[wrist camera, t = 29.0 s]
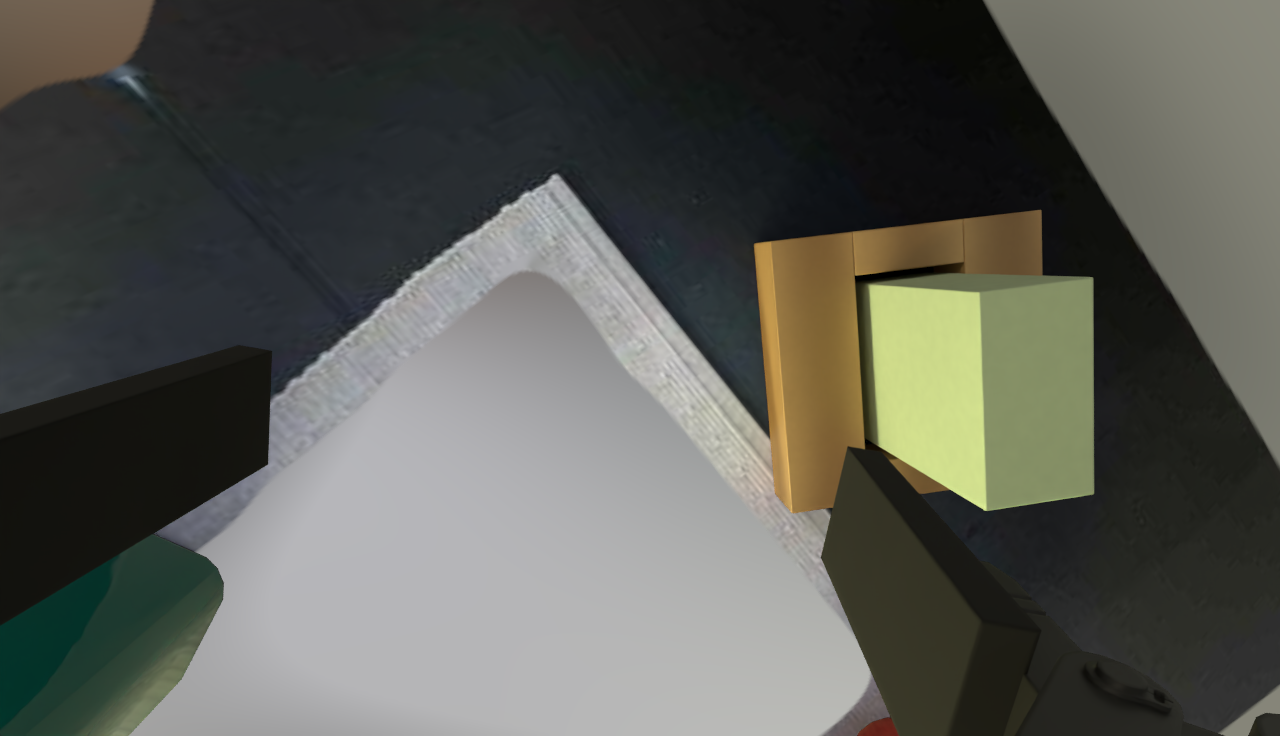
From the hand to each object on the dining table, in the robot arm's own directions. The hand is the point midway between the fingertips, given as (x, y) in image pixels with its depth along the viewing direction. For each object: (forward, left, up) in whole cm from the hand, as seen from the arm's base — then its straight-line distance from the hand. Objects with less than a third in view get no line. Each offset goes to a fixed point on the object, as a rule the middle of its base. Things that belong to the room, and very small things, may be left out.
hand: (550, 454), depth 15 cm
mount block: (-14, +11, -20) cm, 27 cm away
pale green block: (-14, +11, -20) cm, 27 cm away
